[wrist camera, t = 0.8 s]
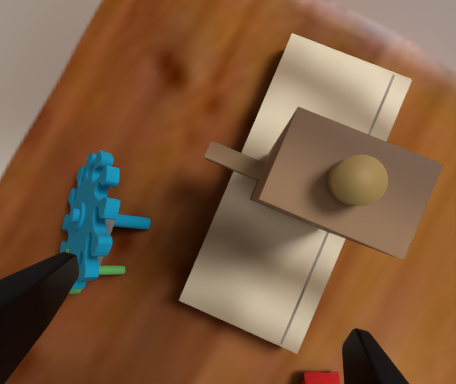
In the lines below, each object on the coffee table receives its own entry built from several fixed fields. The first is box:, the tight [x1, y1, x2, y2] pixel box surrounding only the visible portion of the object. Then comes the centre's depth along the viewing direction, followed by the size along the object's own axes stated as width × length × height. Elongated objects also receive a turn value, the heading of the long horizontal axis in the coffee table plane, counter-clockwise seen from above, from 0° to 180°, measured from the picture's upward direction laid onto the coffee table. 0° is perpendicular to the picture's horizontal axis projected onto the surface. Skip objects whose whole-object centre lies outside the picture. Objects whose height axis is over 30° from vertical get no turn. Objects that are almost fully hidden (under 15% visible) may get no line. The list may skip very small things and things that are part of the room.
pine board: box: [179, 33, 412, 354], centre depth 22 cm, size 23×10×2 cm, turn 157°
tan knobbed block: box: [204, 106, 443, 260], centre depth 15 cm, size 4×11×11 cm, turn 67°
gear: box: [60, 150, 151, 294], centre depth 21 cm, size 11×6×10 cm
